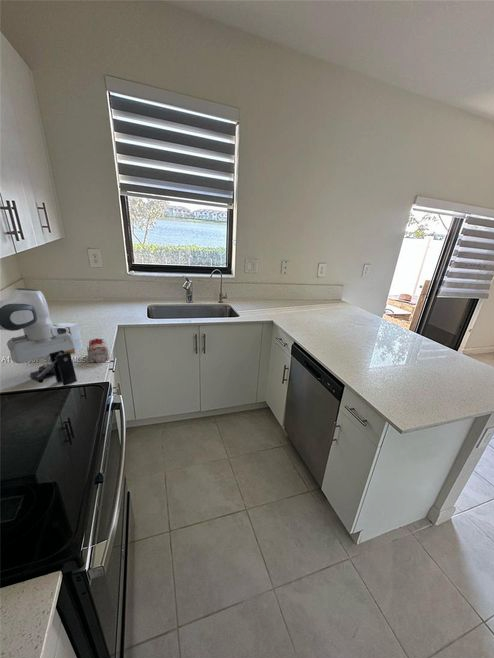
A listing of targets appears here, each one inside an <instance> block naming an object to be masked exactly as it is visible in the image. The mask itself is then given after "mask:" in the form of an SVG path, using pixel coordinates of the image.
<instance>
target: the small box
mask: <svg viewBox="0 0 494 658" xmlns="http://www.w3.org/2000/svg"><path fill="white" fill-rule="evenodd" d="M56 325H59V326H63V327H66V328H68V330H69V332H68V333H69V334H70V335H71V336H72V339H73V341H74V348H73V349H71V350H67V351H64V353H68V352H69V353H70V354H76V353H78V352H80V351H82V350H83V349H84V344H83V340H82V336H81V331H80V327H79V326H80V325H79V323H74V322H73V323H72V322H59V323H57V324H56ZM82 348H83V349H82ZM81 349H82V350H81ZM79 350H80V351H79Z"/></svg>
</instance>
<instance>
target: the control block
mask: <svg viewBox="0 0 494 658" xmlns="http://www.w3.org/2000/svg"><path fill="white" fill-rule="evenodd" d="M43 367H44V366H43V365H41V366H39V367H38V370H36V371H32V372H30V376H33V375H34V376H38V375H39V374H40V373H41V372H42V371H44V370H45V369H43ZM52 377H55V373H54V370H53V368H52V369H51V370H50V371H49V372H48V373H47V374H46V375H44V376H43V377H42V378H41V379H43V380H46V379H49V378H52Z"/></svg>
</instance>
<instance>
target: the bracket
mask: <svg viewBox="0 0 494 658" xmlns="http://www.w3.org/2000/svg"><path fill="white" fill-rule="evenodd" d="M60 352H61V353H63V354H60V355H57V354H58V353H60ZM71 354H72V353H69V352H64V351H63V350H61V351H57V352H53V353H50V354H49V355H50V356H49V359H51V362H54V361H55V359H54V357H55V356H56V355H57V356H56V360H57V365H55V366H54V367H53V370H54V373H55V376H54V377H55V381H56V383H57V384H58V383H59V384H60V383H61V384H62V385H63V386H67V385H70V384H73V383H75V382H78V380H77V376H76V372H75V368H74V364H73V358H72V355H71Z"/></svg>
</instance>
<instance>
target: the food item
mask: <svg viewBox="0 0 494 658" xmlns="http://www.w3.org/2000/svg"><path fill="white" fill-rule="evenodd" d="M86 348H87V350H86V352H87V356H88V359H89V362H90V363H91V364H93V363H103V362H106V361H109V360H110V356H109V349H108V346H107V343H106V340H105V339H104V338H92V339H89V341H88V346H86Z"/></svg>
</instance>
